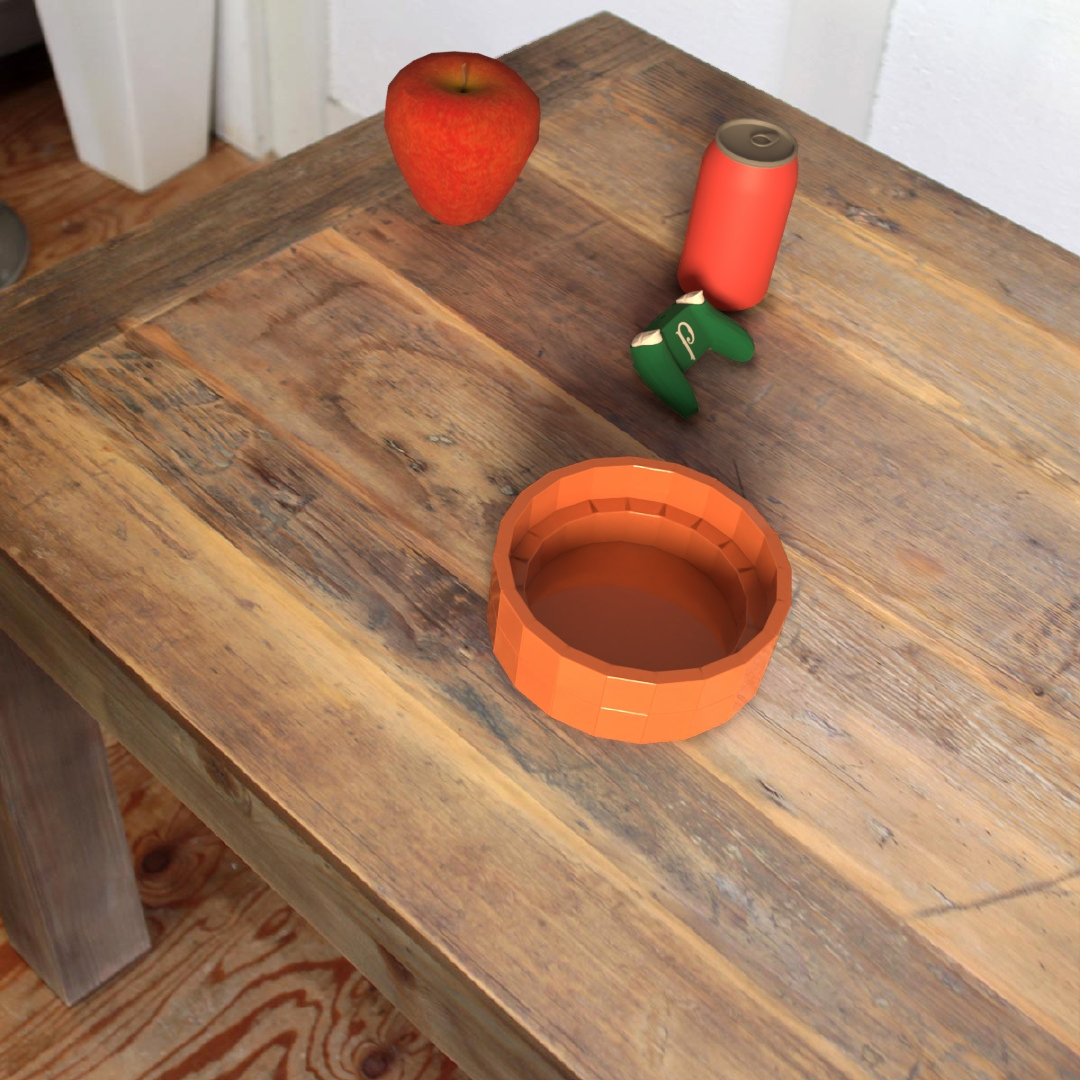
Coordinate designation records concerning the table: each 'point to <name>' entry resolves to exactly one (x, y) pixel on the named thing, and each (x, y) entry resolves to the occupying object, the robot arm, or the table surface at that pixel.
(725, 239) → the beer can
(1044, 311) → the table surface
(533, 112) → the apple
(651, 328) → the gaming controller
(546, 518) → the bowl
